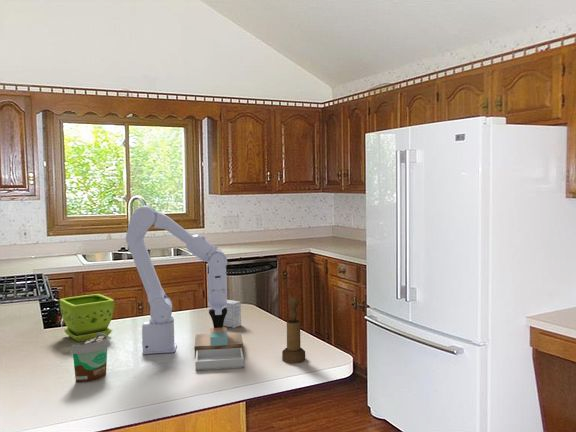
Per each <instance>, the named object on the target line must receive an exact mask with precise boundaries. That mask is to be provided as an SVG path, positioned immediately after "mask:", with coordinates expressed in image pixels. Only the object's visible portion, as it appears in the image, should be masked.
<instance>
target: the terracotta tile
mask: <svg viewBox="0 0 576 432" xmlns="http://www.w3.org/2000/svg"><path fill="white" fill-rule="evenodd" d="M209 329H210V330H209V332H210V333H214V332H227V333H228V327H226V326H223V327H222V328H214V327H210V328H209ZM210 333H209V334H210Z"/></svg>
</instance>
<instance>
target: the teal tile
mask: <svg viewBox="0 0 576 432" xmlns="http://www.w3.org/2000/svg"><path fill="white" fill-rule="evenodd" d="M227 333H228V331H227V332H214V333H209V334H210V345H211V346H220V345H228V334H227Z"/></svg>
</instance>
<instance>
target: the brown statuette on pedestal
mask: <svg viewBox="0 0 576 432" xmlns="http://www.w3.org/2000/svg"><path fill="white" fill-rule="evenodd" d="M299 302H300V301H299V299H298V297H296V296H291V297H289V298H288V300H287V305H288V306H289V308H290V311H289V314H288V315H289V319H288V320H286V347H285V348H284V349H283V350H282V351H281V354H282V355H281V360H282V361H283V362H285V363H288V364H297V363H298V364H299V363H304V362H305V361H304V360H306V350H305V349H303V348H302V347H301V320H300V319H297V317H298V312H297V307H298V306H299Z"/></svg>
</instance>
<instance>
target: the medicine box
mask: <svg viewBox="0 0 576 432" xmlns="http://www.w3.org/2000/svg"><path fill="white" fill-rule="evenodd" d="M227 302H231V305H228V306H226V307H225V308H227V314H226V316H225V319H224V323H223V327H227V328H233V329H235V328H238V327H240V326H242V303H241V301H237V300H232V299H231V300H230V299H227Z"/></svg>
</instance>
